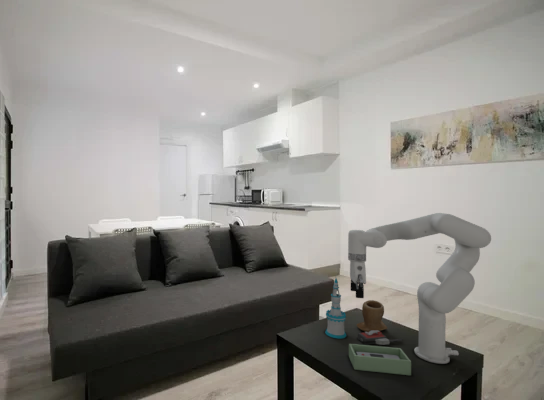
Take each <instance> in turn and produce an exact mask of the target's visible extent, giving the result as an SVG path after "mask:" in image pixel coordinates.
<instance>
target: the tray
mask: <svg viewBox="0 0 544 400" xmlns="http://www.w3.org/2000/svg"><path fill="white" fill-rule="evenodd" d="M356 352H367V353H378V354H388V355H397V356H398V357H399V358H400V359H392V358H381V357H371V356H361V355H356ZM348 358H349V360H350V363H351V365H352V368H353V370H355V371H356V370H357V371H365V372H374V373H375V372H377V373H383V374H391V375H393V374H394V375H403V376H405V375H406V376H412V360H411V359H410V358H409V357H408V355H407V354H406V353H405V351H404V350H403V349H402V348H400V347H391V346H382V345H379V346H378V345H371V344H357V343H348Z"/></svg>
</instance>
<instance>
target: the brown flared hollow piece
mask: <svg viewBox="0 0 544 400" xmlns="http://www.w3.org/2000/svg"><path fill="white" fill-rule="evenodd" d="M361 314H362V317H363V321H361V322H359V323H356V328H358V329H359V330H361V331H363V332H364V333H365V332H370V331H371V330H378V331H380V332H382V331H385V330H386V331H387V330H388V325H386V324H385V323H384V322H383V317H384V314H385V307H384V305H383V303H381V302H380V301H377V300H373V299H368V300H366V301H364V302H363V304H362V308H361Z"/></svg>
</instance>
